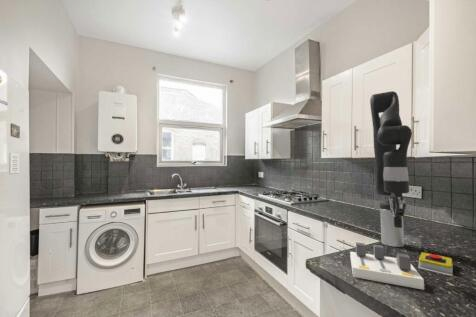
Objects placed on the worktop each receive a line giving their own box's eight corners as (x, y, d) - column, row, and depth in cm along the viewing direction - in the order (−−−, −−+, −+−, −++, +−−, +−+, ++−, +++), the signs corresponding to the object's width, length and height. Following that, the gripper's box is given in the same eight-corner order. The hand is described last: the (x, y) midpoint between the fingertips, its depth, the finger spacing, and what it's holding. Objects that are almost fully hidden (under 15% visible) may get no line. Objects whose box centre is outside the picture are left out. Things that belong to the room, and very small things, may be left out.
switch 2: (373, 255, 84) (373, 244, 84) (383, 256, 82) (382, 245, 83) (374, 257, 81) (374, 246, 81) (384, 259, 80) (384, 248, 80)
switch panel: (350, 259, 89) (350, 251, 89) (407, 267, 81) (407, 259, 81) (353, 276, 73) (352, 267, 73) (424, 289, 65) (423, 279, 65)
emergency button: (417, 257, 81) (421, 247, 92) (417, 269, 81) (421, 258, 91) (452, 264, 74) (452, 253, 85) (452, 277, 74) (452, 265, 85)
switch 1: (356, 252, 86) (355, 242, 86) (364, 253, 85) (364, 243, 85) (356, 255, 84) (356, 244, 84) (365, 256, 82) (365, 245, 83)
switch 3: (397, 265, 74) (396, 253, 75) (408, 266, 73) (407, 254, 73) (399, 268, 72) (399, 256, 72) (410, 270, 70) (410, 257, 71)
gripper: (380, 178, 88) (382, 222, 87) (387, 180, 76) (389, 230, 75) (403, 179, 85) (405, 224, 84) (414, 180, 73) (416, 233, 72)
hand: (397, 227), depth 79 cm, fingers closed
